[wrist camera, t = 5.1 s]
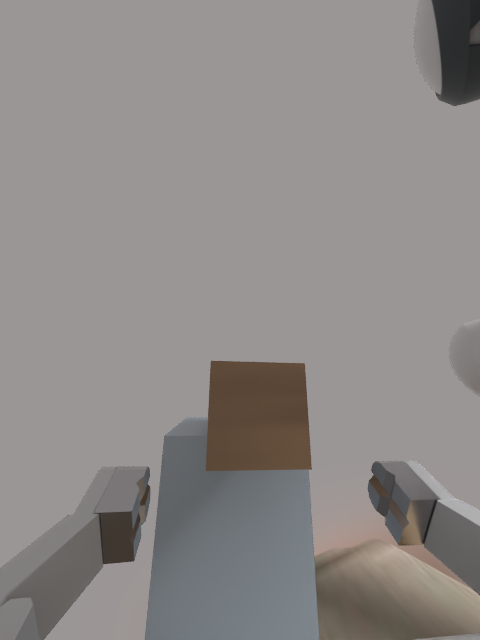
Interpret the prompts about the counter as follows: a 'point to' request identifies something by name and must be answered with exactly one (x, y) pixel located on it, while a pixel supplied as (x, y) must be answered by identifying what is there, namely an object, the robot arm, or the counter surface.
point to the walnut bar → (257, 417)
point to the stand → (230, 549)
